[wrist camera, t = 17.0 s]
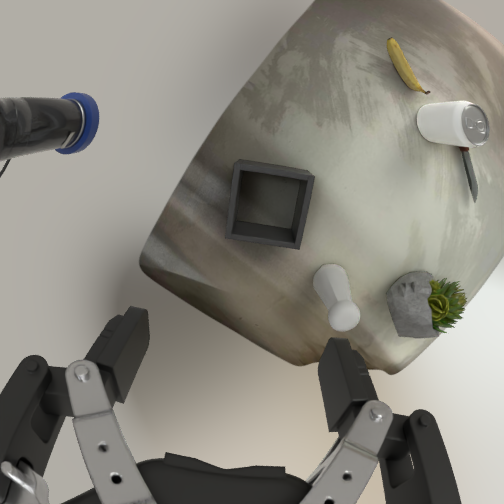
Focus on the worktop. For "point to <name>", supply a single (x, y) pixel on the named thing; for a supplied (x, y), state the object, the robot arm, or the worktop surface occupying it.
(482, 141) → the can
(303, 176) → the holder
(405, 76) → the banana
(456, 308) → the potted plant
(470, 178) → the knife
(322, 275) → the salt shaker
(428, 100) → the worktop surface
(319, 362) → the robot arm
